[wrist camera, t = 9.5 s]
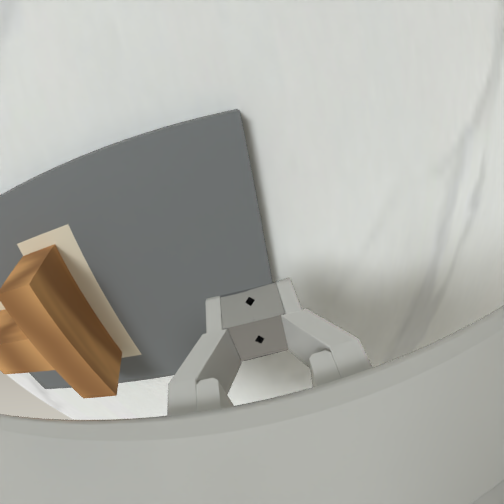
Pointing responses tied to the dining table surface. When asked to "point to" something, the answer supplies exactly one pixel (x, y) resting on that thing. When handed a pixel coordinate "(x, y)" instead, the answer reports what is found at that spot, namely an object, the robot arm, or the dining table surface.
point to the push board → (147, 235)
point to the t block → (55, 327)
